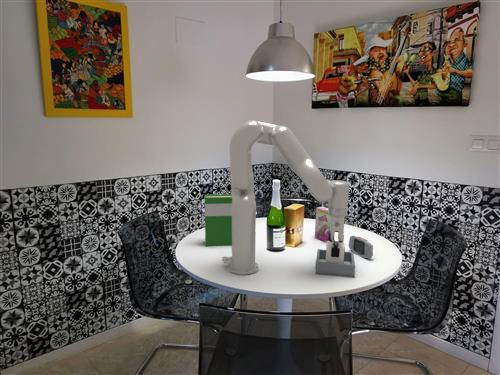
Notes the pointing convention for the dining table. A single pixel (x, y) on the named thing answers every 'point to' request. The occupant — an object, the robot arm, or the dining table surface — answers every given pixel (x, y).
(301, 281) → the dining table surface
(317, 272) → the walled bin
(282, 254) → the dining table surface
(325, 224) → the candy bar box
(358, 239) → the handheld gaming console
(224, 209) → the hardback book
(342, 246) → the medicine bottle
